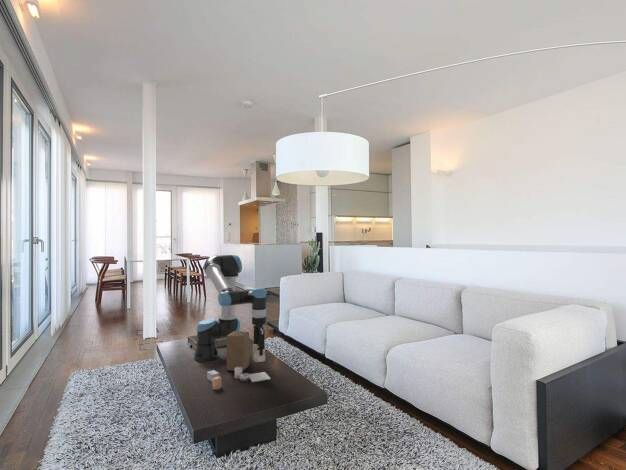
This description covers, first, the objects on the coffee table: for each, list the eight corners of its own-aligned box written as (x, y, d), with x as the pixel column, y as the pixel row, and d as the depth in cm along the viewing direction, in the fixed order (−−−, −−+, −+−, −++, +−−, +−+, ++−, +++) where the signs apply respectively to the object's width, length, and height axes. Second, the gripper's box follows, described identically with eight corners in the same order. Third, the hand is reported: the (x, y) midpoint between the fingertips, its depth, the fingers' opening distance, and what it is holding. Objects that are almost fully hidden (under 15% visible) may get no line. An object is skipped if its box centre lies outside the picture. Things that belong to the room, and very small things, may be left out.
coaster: (247, 375, 198) (247, 374, 198) (264, 372, 202) (264, 371, 202) (252, 382, 189) (252, 381, 189) (270, 379, 193) (270, 378, 193)
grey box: (207, 379, 193) (207, 371, 194) (214, 377, 196) (214, 370, 196) (212, 382, 189) (212, 374, 189) (219, 380, 192) (219, 373, 192)
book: (195, 351, 243) (195, 344, 243) (187, 343, 262) (187, 336, 262) (238, 344, 259) (238, 337, 259) (228, 337, 278) (228, 330, 278)
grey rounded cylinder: (233, 376, 197) (233, 367, 197) (241, 375, 199) (241, 366, 199) (235, 379, 193) (235, 369, 194) (242, 377, 195) (242, 368, 195)
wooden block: (242, 371, 204) (242, 336, 204) (226, 370, 206) (226, 335, 207) (249, 365, 214) (249, 331, 214) (233, 364, 216) (233, 331, 216)
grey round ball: (238, 379, 194) (238, 373, 194) (247, 377, 196) (247, 372, 196) (240, 382, 189) (240, 376, 189) (249, 381, 191) (250, 375, 191)
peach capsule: (211, 387, 182) (211, 377, 182) (220, 385, 185) (219, 375, 185) (213, 390, 179) (213, 380, 179) (222, 388, 181) (222, 378, 181)
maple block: (252, 359, 197) (252, 344, 197) (262, 357, 199) (262, 343, 200) (255, 362, 192) (255, 347, 192) (265, 360, 194) (265, 346, 194)
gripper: (247, 314, 203) (247, 355, 203) (256, 320, 186) (256, 365, 186) (260, 313, 206) (260, 353, 206) (270, 319, 189) (270, 363, 189)
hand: (258, 359), depth 196 cm, fingers closed on maple block, 6 cm apart
